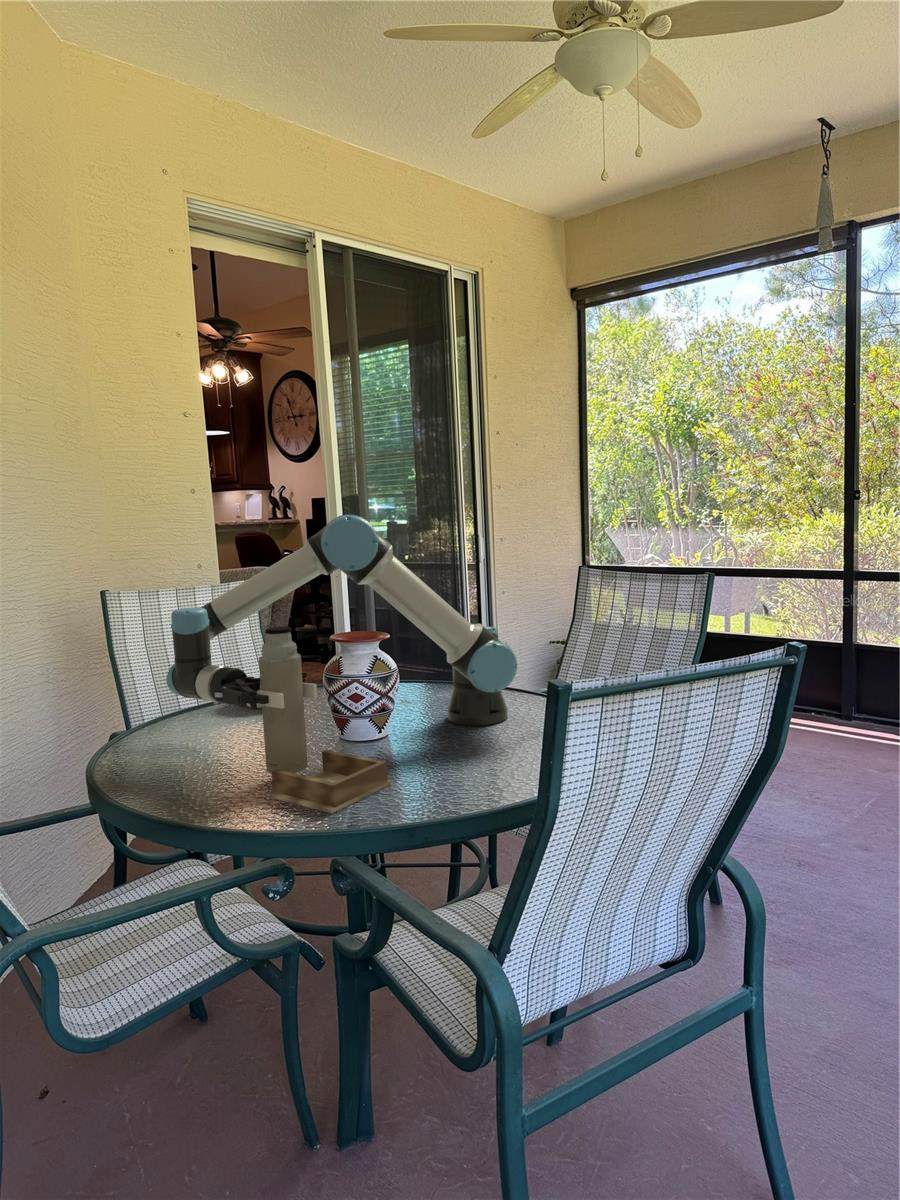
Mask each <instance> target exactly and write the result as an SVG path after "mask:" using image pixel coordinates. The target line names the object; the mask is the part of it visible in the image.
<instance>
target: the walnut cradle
mask: <svg viewBox="0 0 900 1200" xmlns="http://www.w3.org/2000/svg"><path fill="white" fill-rule="evenodd" d="M321 758H322V759H321V760H322V770H321V771H319V772H316V773H314V774H312V775H310V776H307V775H304V774H303V775H302V774H299V773H291V772H286V771H282V770H278V769H276V770H273V771H271V772H272V774H271V782H272V783H271V784H272V786H271V787H272V791H271V792H269V797H270V798H271V799H274V800H275V799H276V800H279V801H283V802H286V803H291V804H293V805H297V806H303V807H304V808H305V807H306V808H309V809H313V810H316V811H320V812H325V813H328V814H331V815H332V814H334V813H336V811H337V812H338V811H341V810H342V809H345V808H347V807H348V806H350V805H352V804H355V803H357V802H358V801H361V800H363V799H365V798H367V797H370V795H373V794H376V793H377V792H379V791H381V790H383V789H385V788H387V787H389V786H391V780H388V779H389V778H388V763H387V761H384V760H379V759H375V758H368V757H365V756H359V755H355V754H348V753H344V752H340V751H333V750H329V749H324V750H323V751H321Z"/></svg>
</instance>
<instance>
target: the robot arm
mask: <svg viewBox="0 0 900 1200" xmlns="http://www.w3.org/2000/svg"><path fill="white" fill-rule="evenodd" d="M338 570H340V571H341V572H342V573H344V574H345V575H346V576H347V577H348V578H349V579H351V581H353V582H354V583H355V584H357V585H368V586H369V587H370V588H371V589H372V590H373V591H375V592H376V593H377V594H378V595H380V597H381V598H383V599H384V600H386V602H387V603H388V604H390V605H391V606H392V607H394V608H395V609H396V610H397V611H398V612H399V613H400V614H401V615H403V616H404V618H406V619H407V620H408V621H410V622H411V623H412V624H413V625H414V626H415V627H416V628H418V629H419V630H420V631H421V632H423V634H425V636H427V637H429V639H430V640H432V641H433V642H434V643H435V644H436V645H437V646H439V648H441V649H442V650H443V651H444V652H445V653H446V662H447V663H448V664H449V665H450V666H451V667H452V683H453V685H452V692H451V696H450V699H449V704H448V707H447V720H448V721H449V722H450V723H453V724H455V725H460V726H461V725H462V726H470V727H471V726H475V727H476V726H488V725H494V724H498V723H501V722H504V721H506V720H507V719H508V717H509V715H508V713H509V712H508V707H507V703H506V701H505V698H504V696H503V692H502V690H504V689H506V688H508V686H510V685H511V683H512V682H513V681H514V680H515V678H516V675H517V671H518V660H517V657H516V655H515V653H514V651H513V649H512V648H511V647H510V646H509V645H508V644H505V643H503V642H502V641H501V640H500V639H499V633H498V628H496V627H495V626H484V625H482V624H481V623H470V622H469V620H467V619H466V618H464V616H462V614H461V613H459V612H458V611H457V610H456V609H454V607H452V606H451V605H450V604H449V603H448V602H447V601H445V600H444V598H442V596H440V595H439V594H437V593H436V592H435V591H434V590H433V589H432V588H431V587H429V585H427V584H426V583H425V582H424V581H423V580H422V579H421V578H420V577H418V575H416V574H415V573H414V572H413V571H412V570H411V569H409V568H408V567H407V566H406V565H405V564H403V562H401V561H400V560H399V559H398V558H397V557H396V556H395V555H394V551H393V545H392V544H391V543H390V542H389V541H388V540H387V539H386V538H385V537H383V536H382V535H381V534H380V533H379V532H378V531H377V530H376V529H375V528H374V527H373V525H372V524H371V523H370V522H369V521H368V520H367V519H365V518H364V517H361V516H360V515H355V514H342V515H338V516H336V517H335V518H333V519H332V520H330V521H329V522H328V523H327V524H326V525H325V526H324V527H322V529H321V530H319V531H318V532H317V533H316V534H314V535H312V536H311V537H309V538H307V539H306V540H305V541H304V545H303V546H302V547H300V548H299V549H296V550H295V551H294V552H292V553H290V554H288V555H287V556H286V557H284V558H282V559H280V560H278V561H277V562H275V563H273V564H271V565H270V566H269V567H267V568H265V569H263V570H262V571H259V573H256V574H255V575H253V576H251V577H250V578H247V580H245V581H243V582H241V583H239V584H237V586H235V587H233V588H231V589H229V590H228V591H225V592H224V593H223V594H221V595H220V596H218V597H216V598H214V599H212V600H211V601H209V602H207V603H205V604H204V605H203V606H201V607H194V606H193V607H184V608H183V607H182V608H177V609H174V610H173V611H172V612H171V618H170V619H171V624H170V629H171V632H172V644H173V652H174V653H173V654H174V660H173V661H174V664H172V665H171V666H170V667H169V669H168V672H167V675H166V676H165V678H166V680H165V681H166V685H167V687H168V689H169V690H170V691H171V693H173V694H174V695H177V696H181V697H184V698H185V699H186V698H188V699H194V700H195V699H197V700H203V701H208V702H209V701H210V702H213V704H215V705H217V704H219V703H220V704H225V705H235V706H238V707H242V708H245V707H248V706H247V703H248V704H250V706H251V707H250V709H251V710H252V709H253V710H254V709H258V708H257V703H258V705H263V706H269V707H275V708H281V709H282V708H284V695H283V693H277V692H270V691H263V690H260V687H261V684H260V678H254V677H247V676H248V675H247V674H246V672H244V670H242V669H241V668H237V667H228V666H223V665H213V664H212V652H211V640H213V639H215V638H216V637H217V636H219V635H221V634H222V633H224V632H226V631H227V630H228V629H231V628H232V627H233V626H236V625H237V624H239V623H240V622H242V621H244V620H245V619H247V618H249V617H251V616H252V615H254V614H256V613H257V612H259V611H261V610H262V609H264V608H266V607H267V606H269V605H271V604H273V603H275V602H276V601H278V600H280V599H282V598H283V597H285V596H287V595H288V594H289V593H292V592H293V591H295V590H296V589H298V588H300V587H301V586H303V585H305V584H306V583H308V582H310V581H312V580H313V579H315V578H316V577H319V576H320V575H324V576H325V575H326V576H328V575H330V574H332V573H334V572H335V571H338ZM302 682H303V681H302ZM317 687H318V686H317V683H309V682H303V698H307V699H309V698H310V699H318V690H317V689H318V688H317Z"/></svg>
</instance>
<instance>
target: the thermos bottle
mask: <svg viewBox="0 0 900 1200" xmlns="http://www.w3.org/2000/svg"><path fill="white" fill-rule="evenodd" d="M291 632H292V627H290V626H274V627H269V628H266V629H265V643H263V644H262V645H261V650H260V652H261V656H260V657H259V658H258V669H259V675H260V684H261V690H263V691H270V692H277V693H283V695H284V708H282V709H281V708H275V707H269V706H263V705H262V708H261V710H262V725H263V739H264V740H263V741H264V753H265V754H264V756H265V767H266V768H265V769H266V772H267V773H269V774H271V775H272V772H271V771H273V770H276V769H278V770H282V771H286V772H291V773H295V774H298V773H300V772H303V771H305V770H306V769H307V768H308V766H309V763H308V762H309V761H308V747H307V734H306V732H307V731H306V716H305V715H306V714H305V703H304V702H305V701H304V700H305V699H304V698H305V697H303V669H302V656H301V654H300V653H298V650H297V649H298V646H297V643H296V642H294V641H293V640H292V633H291Z"/></svg>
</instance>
